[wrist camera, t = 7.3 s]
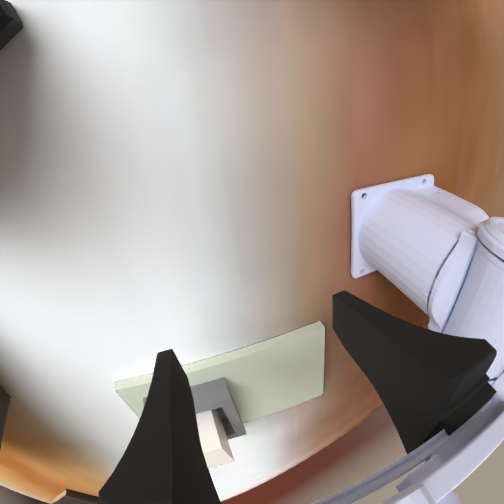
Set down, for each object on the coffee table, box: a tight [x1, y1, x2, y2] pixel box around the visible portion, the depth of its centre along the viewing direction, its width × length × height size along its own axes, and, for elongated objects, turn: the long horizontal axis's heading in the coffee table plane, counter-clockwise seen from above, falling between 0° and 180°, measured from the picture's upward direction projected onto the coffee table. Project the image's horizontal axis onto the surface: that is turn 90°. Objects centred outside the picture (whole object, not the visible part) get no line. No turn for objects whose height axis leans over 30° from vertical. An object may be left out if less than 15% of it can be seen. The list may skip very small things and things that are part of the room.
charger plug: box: [196, 409, 234, 468], centre depth 24 cm, size 4×4×6 cm
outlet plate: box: [115, 321, 325, 440], centre depth 27 cm, size 20×12×4 cm, turn 100°
